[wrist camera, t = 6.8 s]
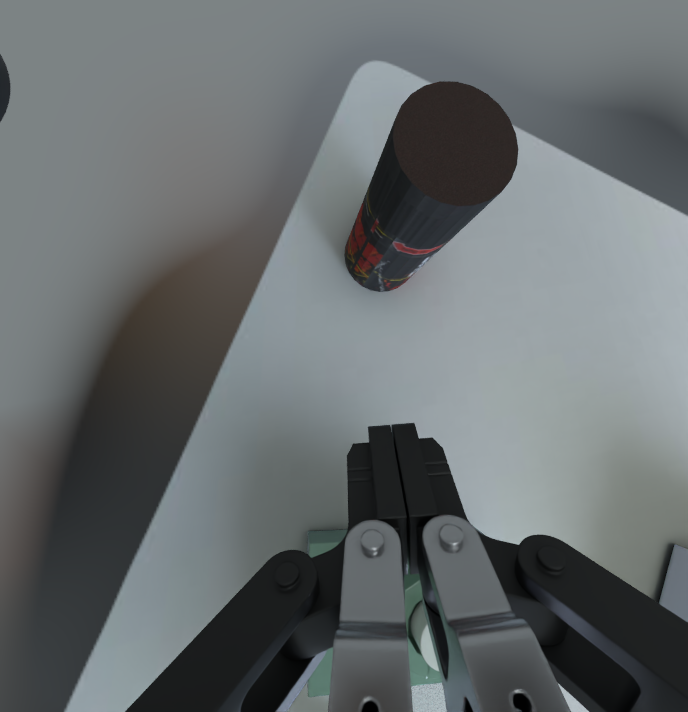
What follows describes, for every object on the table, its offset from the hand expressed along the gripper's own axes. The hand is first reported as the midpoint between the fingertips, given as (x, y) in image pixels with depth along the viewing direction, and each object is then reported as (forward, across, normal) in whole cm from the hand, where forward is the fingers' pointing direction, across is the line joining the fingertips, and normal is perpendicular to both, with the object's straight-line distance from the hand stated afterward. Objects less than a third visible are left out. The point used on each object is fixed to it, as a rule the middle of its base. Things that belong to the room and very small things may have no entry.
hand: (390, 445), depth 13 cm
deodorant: (+23, -2, 0) cm, 23 cm away
